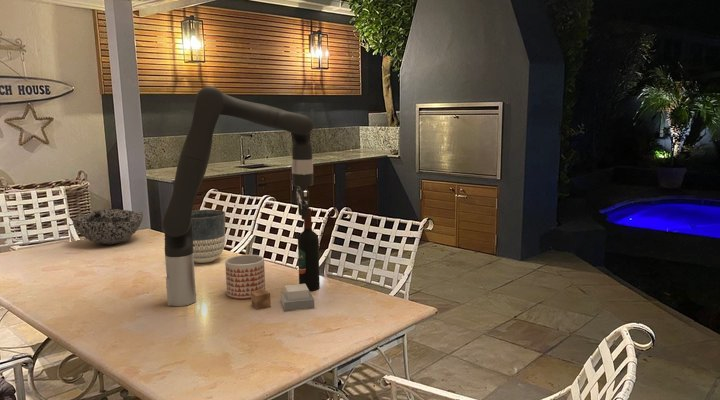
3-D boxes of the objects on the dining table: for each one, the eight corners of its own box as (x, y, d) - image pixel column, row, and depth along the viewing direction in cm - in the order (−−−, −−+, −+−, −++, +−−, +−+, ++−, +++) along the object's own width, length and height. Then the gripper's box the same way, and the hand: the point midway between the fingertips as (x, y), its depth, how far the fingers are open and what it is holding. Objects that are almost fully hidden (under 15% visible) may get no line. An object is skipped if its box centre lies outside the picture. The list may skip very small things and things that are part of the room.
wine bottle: (316, 291, 198) (314, 211, 193) (296, 290, 200) (294, 210, 195) (321, 285, 206) (320, 207, 200) (302, 284, 207) (300, 206, 202)
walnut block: (256, 310, 181) (256, 295, 180) (251, 305, 185) (251, 291, 185) (270, 307, 184) (270, 293, 183) (265, 302, 188) (265, 289, 187)
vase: (247, 284, 207) (245, 252, 205) (273, 291, 199) (272, 257, 197) (218, 295, 196) (217, 260, 194) (245, 302, 188) (243, 266, 186)
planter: (236, 259, 242) (234, 212, 239) (202, 270, 226) (199, 219, 223) (206, 253, 253) (203, 208, 249) (171, 263, 237) (168, 215, 233)
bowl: (61, 250, 262) (58, 219, 259) (102, 235, 292) (99, 207, 290) (121, 252, 257) (118, 221, 254) (156, 236, 287) (154, 209, 285)
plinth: (284, 311, 180) (283, 293, 179) (280, 301, 189) (280, 284, 188) (314, 308, 182) (314, 290, 181) (309, 298, 192) (308, 281, 191)
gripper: (289, 170, 198) (290, 213, 201) (294, 174, 184) (295, 221, 187) (310, 169, 200) (310, 213, 203) (316, 174, 186) (316, 220, 189)
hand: (303, 217), depth 195 cm, fingers open, 8 cm apart
